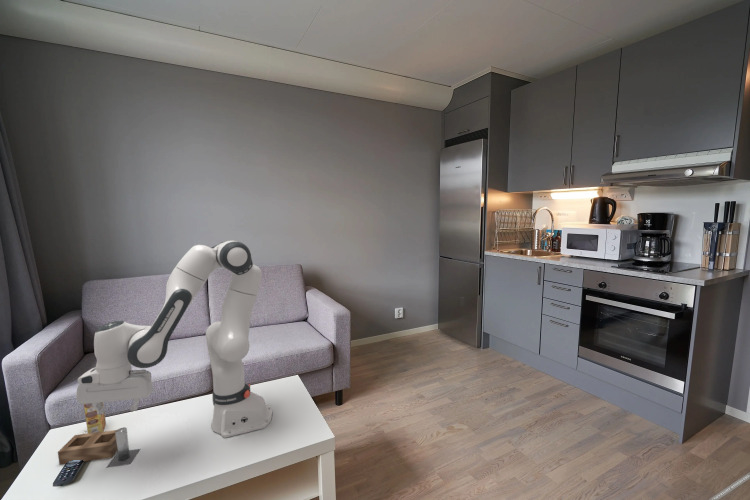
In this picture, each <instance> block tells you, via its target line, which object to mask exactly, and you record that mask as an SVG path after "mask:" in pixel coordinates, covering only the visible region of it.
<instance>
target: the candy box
mask: <svg viewBox="0 0 750 500" xmlns="http://www.w3.org/2000/svg"><path fill="white" fill-rule="evenodd" d="M100 404H101V405H102V407H105V406H104V402H100ZM83 409H84V416H85V422H86V431H87V434H88V433H96V432H104V431H105V428H106V425H107V421H106V420H107V419H106V415H105V413H106V412H105V413H104V414H100V415H97V410H96V409H95V408H94V407H93V406H92V403H88V404H83Z"/></svg>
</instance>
